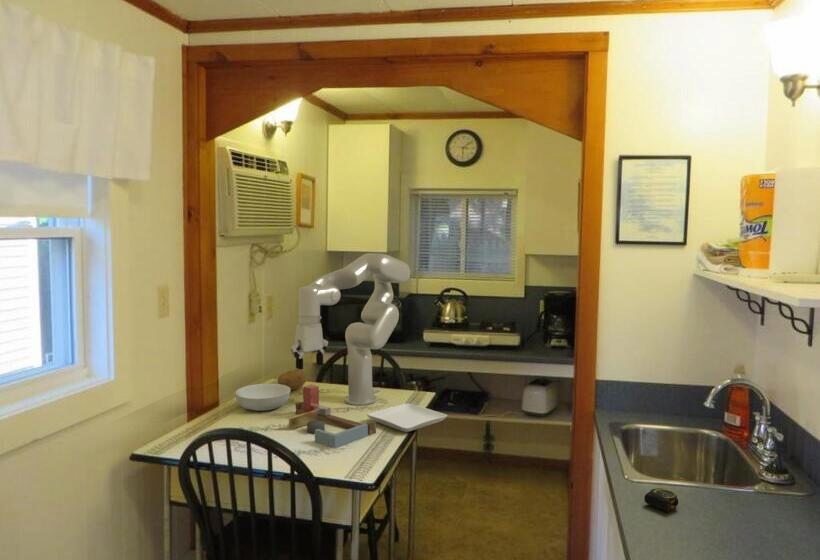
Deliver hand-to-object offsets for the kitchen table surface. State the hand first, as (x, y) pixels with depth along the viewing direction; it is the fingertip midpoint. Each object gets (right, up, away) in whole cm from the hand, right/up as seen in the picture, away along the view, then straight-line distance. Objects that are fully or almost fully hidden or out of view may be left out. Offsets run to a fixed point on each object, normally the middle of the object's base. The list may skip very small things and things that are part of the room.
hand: (309, 366), depth 233 cm
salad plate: (+36, -20, -5) cm, 41 cm away
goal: (+14, -21, -22) cm, 34 cm away
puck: (+4, -20, -14) cm, 25 cm away
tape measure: (+100, -26, -73) cm, 126 cm away
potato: (-14, -15, +40) cm, 45 cm away
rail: (+10, -19, -6) cm, 22 cm away
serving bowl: (-20, -18, +14) cm, 30 cm away
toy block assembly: (-1, -19, -5) cm, 20 cm away
